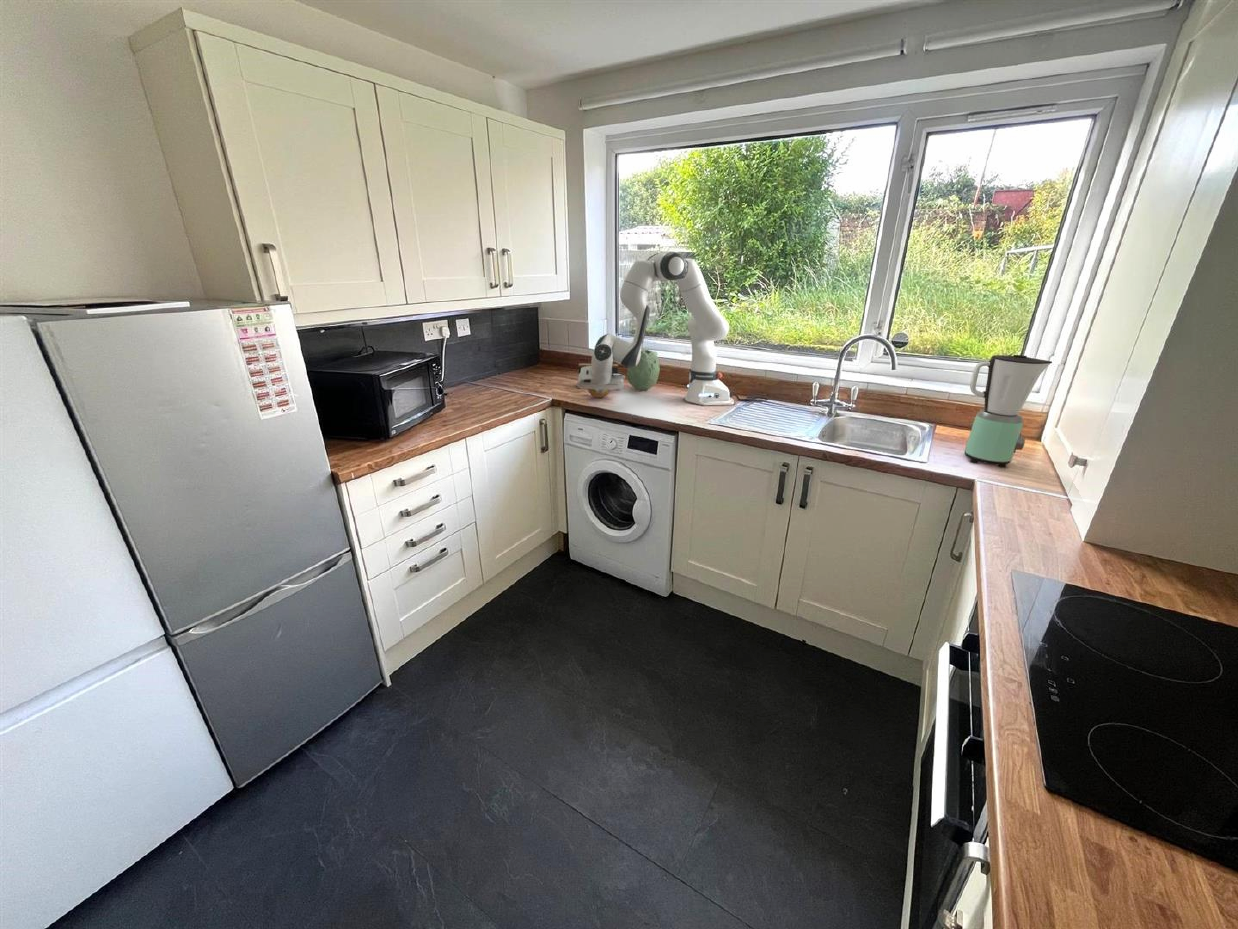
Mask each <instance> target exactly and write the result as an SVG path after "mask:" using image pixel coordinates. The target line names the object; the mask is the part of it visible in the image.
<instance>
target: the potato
mask: <svg viewBox="0 0 1238 929" xmlns="http://www.w3.org/2000/svg"><path fill="white" fill-rule="evenodd" d="M610 390H611V389H606V390H605V391H603V393H597V391H596V390H595V389H587V392H588V394H590V396H592V397H593V398H604V397H605V396H607V395H608V394H609V392H610Z"/></svg>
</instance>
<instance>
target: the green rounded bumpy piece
mask: <svg viewBox="0 0 1238 929" xmlns="http://www.w3.org/2000/svg"><path fill="white" fill-rule="evenodd" d="M658 354H659V353H658V352H657V351H655V350H654V351H653V350H649V349H647V348H645V347H642V350H641V357H640V361H639V363H638V364H637V366H635V367H633V368H629V369H627V370H626V378H627V381H628V383H629V384H630V386H631V387H632V388H633V389H635V390H638V391H640V392H641V391H648V390H650V389H651V388H653V387H654V386H655V385H656V383H657V381H658V380H659V376H660V371H661V368H660V359H659V357H658Z"/></svg>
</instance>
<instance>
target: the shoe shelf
mask: <svg viewBox="0 0 1238 929" xmlns="http://www.w3.org/2000/svg"><path fill="white" fill-rule="evenodd" d="M587 366H591V363H586V362H585V363H584V362H583V363H582V362H581V363H578V374H579V373H581V368H582V367H587ZM612 374H619V364H618V363H613V366H612ZM577 388H578V387H577ZM578 390H580V389H579V388H578ZM616 390H617V391H618V390H619V389H616Z"/></svg>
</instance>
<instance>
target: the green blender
mask: <svg viewBox="0 0 1238 929" xmlns="http://www.w3.org/2000/svg"><path fill="white" fill-rule="evenodd" d="M1052 363H1053V361H1052V360H1045V359H1040V358H1033V357H1028V355H1023V354H1013V355H1005V354H1003V355H1001V354H996V355H992V357H991V358H990V360H985V361H980V362H978V363H977V364H976V365H975V367H974V369H973V370H972V371H973V372H972V374H971V379H970V382H969V389H970V392H971V394H973V395H975V396H976V397H980V398H983V399H984V408H983V409H981V410H979V411H978V412H977V413H976V415H975V417H974V419H973V422H972V426H971V429H970V432H969V435H968V438H967V442H966V445H965V448H964V455H965V456H966V457H967V458H968V459H970V463H973V464H979V462H980V463H983V464H988V465H996V466H997V467H999V468H1004V469H1005V468H1006V466H1007V465H1009V464H1010V463H1011V462H1012V461H1013V457H1014V454H1016V451H1018V450H1019V451H1022V450H1023V448H1024V446H1025V443H1026V438H1025V437H1023V436H1022V430H1023V426H1024V419H1023V416H1022V415H1021V414H1020V412H1021V410H1022V409H1023V406H1024V405H1025V403H1026V401H1027V399H1028V398H1029V396H1030V394H1031V392H1032V390H1033V389H1034V386H1035V385H1036V383H1037V382H1038V379H1039V377H1040V376H1041V375H1042V373H1043V372H1044V371H1045V370H1046V369H1047V368H1048V367H1049V366H1050V364H1052ZM982 367H987V368H988V371H987V379H986V385H985V390H983V391H979V390H977V381H978V377H979V374H980V371H981V368H982Z"/></svg>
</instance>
